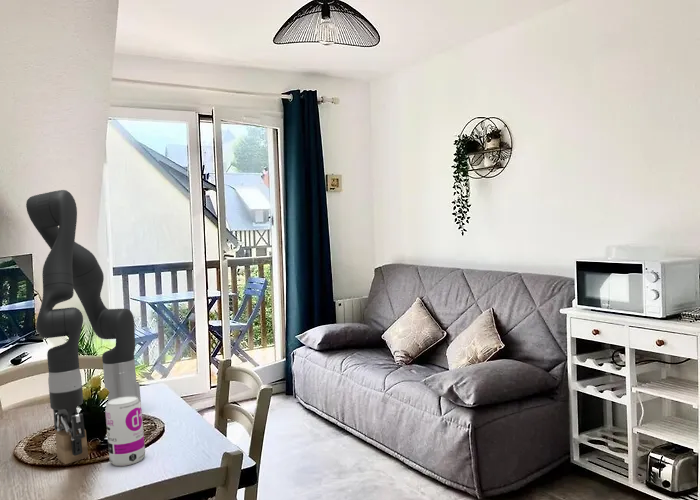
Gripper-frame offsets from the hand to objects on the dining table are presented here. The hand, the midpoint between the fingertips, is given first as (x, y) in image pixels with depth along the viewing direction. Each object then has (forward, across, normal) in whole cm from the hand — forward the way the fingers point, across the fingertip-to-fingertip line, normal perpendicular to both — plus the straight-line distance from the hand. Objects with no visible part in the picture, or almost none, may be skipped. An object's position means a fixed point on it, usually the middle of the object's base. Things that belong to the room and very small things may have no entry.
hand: (71, 450), depth 151 cm
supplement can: (+2, -14, -8) cm, 16 cm away
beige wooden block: (+2, 0, 0) cm, 2 cm away
